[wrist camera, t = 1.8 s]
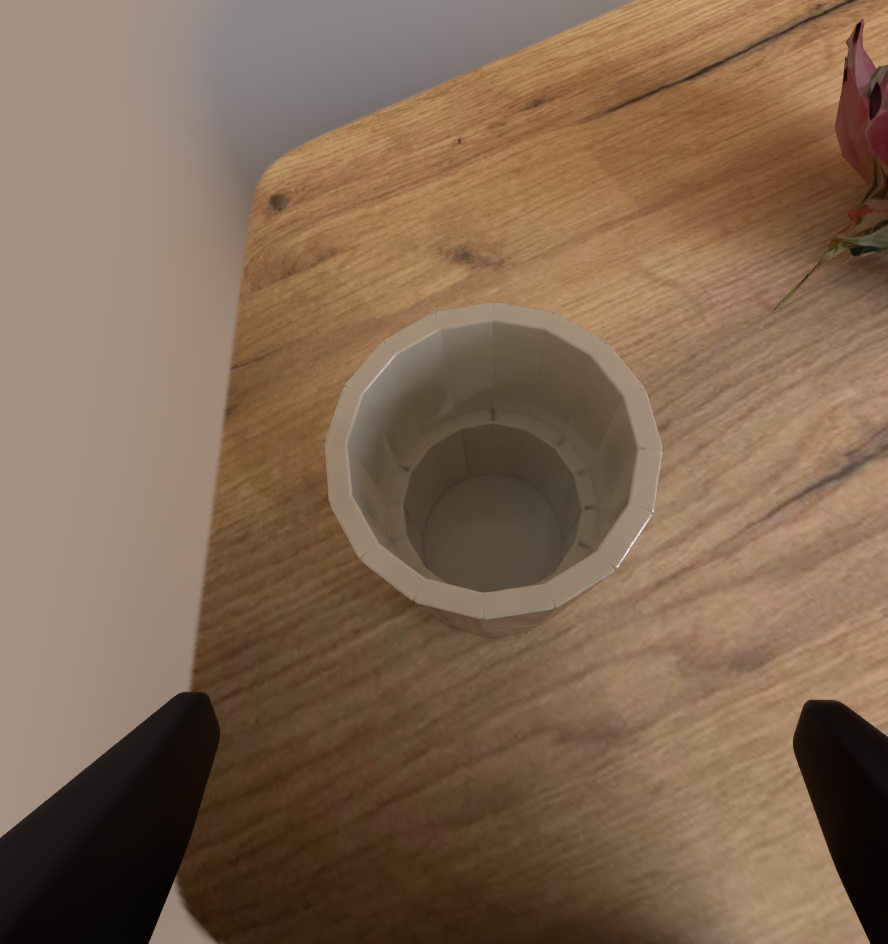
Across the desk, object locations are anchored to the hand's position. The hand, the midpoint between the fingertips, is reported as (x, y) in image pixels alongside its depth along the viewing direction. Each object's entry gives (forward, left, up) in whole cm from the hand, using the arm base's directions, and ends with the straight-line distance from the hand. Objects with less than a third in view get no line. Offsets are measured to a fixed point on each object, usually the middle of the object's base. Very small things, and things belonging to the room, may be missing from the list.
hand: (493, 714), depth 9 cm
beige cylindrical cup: (+4, +3, -11) cm, 12 cm away
